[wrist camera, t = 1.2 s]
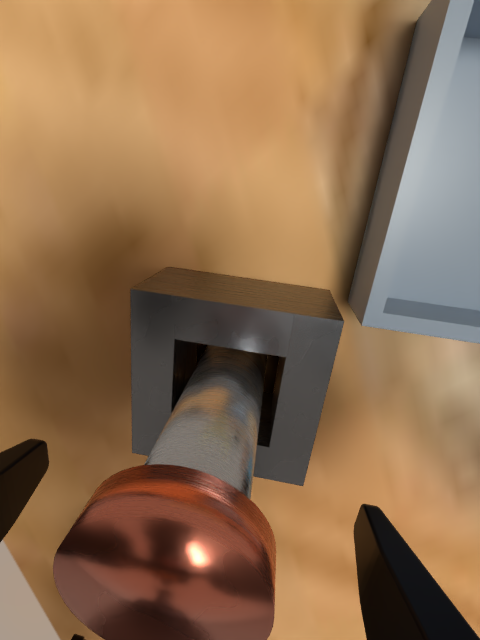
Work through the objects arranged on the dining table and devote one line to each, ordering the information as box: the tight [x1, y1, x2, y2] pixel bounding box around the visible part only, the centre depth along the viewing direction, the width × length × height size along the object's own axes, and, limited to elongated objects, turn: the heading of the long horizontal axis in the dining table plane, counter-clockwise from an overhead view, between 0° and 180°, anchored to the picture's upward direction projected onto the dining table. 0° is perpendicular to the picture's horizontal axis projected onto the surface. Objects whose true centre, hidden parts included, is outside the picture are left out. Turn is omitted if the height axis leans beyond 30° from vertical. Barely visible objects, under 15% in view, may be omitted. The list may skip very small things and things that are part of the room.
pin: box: [53, 345, 276, 640], centre depth 11 cm, size 4×4×11 cm
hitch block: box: [131, 267, 344, 486], centre depth 15 cm, size 8×8×4 cm
